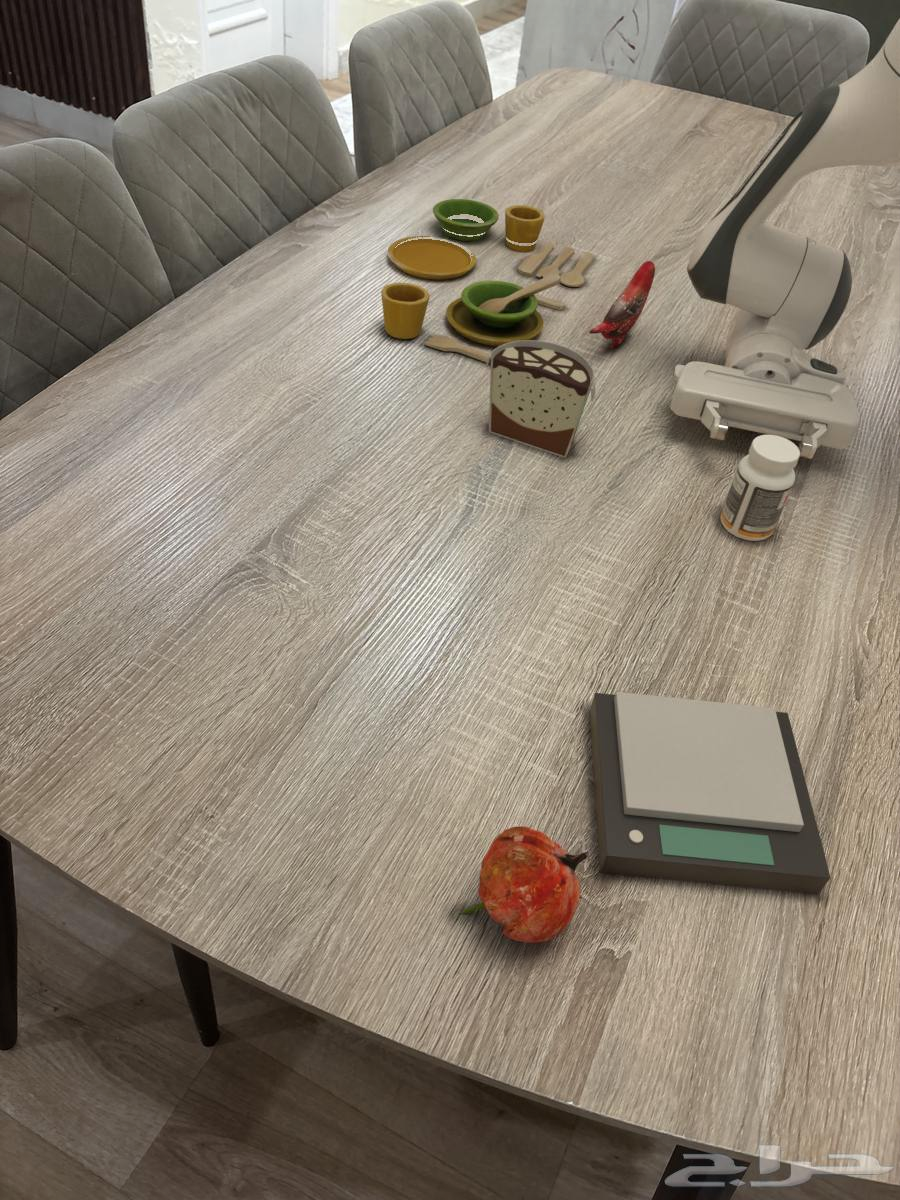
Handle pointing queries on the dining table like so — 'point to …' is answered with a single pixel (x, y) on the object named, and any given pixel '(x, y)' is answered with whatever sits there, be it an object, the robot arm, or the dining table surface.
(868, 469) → the dining table surface
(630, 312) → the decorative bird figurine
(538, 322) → the tableware set
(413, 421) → the dining table surface
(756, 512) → the pill bottle
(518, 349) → the cake slice cutout
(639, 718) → the kitchen scale
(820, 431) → the robot arm
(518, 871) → the pomegranate
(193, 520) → the dining table surface
